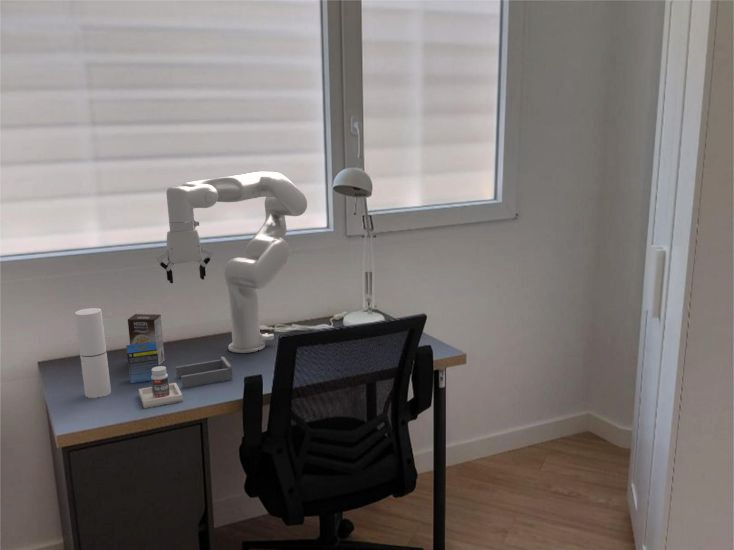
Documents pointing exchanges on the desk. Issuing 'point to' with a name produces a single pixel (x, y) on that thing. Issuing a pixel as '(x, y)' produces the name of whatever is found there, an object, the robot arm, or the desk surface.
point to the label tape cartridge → (142, 361)
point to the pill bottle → (160, 382)
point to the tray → (149, 401)
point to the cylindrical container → (93, 352)
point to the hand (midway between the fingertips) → (186, 280)
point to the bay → (204, 372)
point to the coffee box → (147, 332)
